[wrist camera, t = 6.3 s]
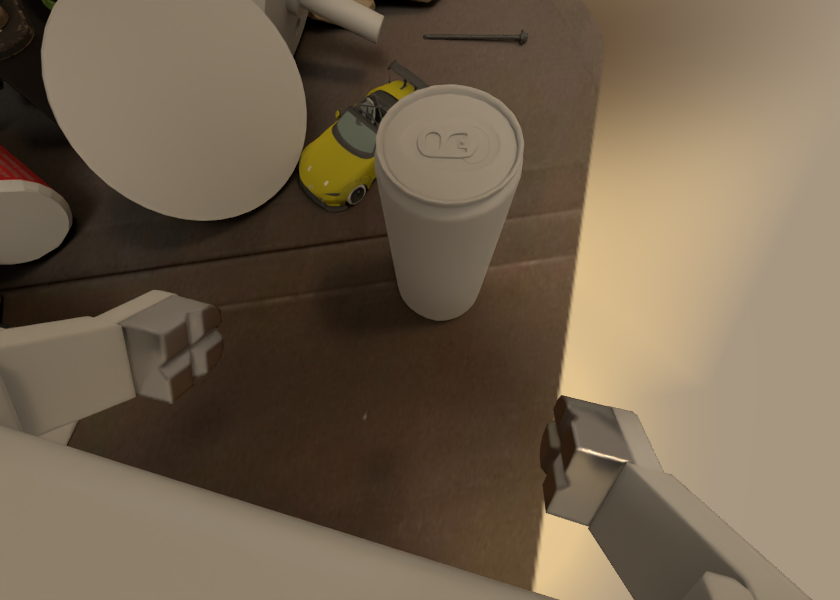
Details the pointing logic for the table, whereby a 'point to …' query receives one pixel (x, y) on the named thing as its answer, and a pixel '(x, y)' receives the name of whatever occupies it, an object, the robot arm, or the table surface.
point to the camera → (24, 49)
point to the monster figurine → (176, 100)
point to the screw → (480, 37)
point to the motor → (289, 10)
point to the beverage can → (446, 192)
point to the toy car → (351, 146)
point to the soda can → (28, 213)
